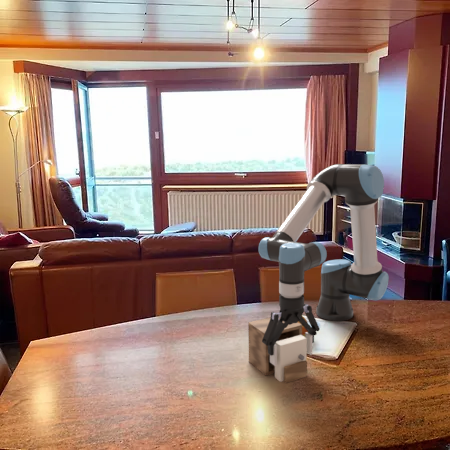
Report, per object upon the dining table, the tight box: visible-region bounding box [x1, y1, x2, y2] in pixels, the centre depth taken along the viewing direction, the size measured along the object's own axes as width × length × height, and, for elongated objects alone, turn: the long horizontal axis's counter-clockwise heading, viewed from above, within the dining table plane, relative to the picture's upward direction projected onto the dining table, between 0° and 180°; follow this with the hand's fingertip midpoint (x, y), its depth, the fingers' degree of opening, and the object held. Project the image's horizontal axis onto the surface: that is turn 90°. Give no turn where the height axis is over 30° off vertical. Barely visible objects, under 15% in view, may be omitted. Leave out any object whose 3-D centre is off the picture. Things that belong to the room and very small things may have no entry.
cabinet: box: [248, 316, 308, 384], centre depth 144 cm, size 17×14×14 cm
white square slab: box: [274, 335, 308, 383], centre depth 138 cm, size 4×10×12 cm, turn 118°
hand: (291, 358), depth 139 cm, fingers open, 13 cm apart
